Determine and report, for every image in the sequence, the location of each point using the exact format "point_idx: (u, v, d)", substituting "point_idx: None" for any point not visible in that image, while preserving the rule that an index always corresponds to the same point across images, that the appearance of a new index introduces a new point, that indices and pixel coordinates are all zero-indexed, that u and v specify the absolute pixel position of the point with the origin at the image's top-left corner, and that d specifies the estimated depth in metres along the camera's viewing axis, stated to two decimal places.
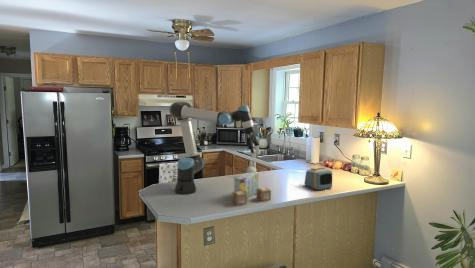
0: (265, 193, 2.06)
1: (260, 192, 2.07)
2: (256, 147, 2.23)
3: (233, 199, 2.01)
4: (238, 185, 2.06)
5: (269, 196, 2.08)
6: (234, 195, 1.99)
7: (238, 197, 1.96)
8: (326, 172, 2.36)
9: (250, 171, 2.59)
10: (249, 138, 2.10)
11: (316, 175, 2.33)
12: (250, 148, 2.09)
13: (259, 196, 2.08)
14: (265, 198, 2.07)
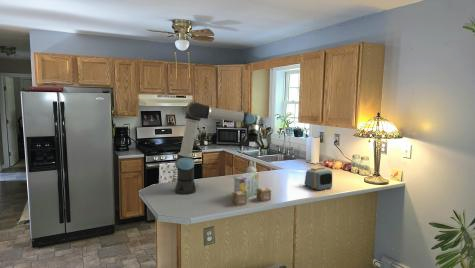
0: (265, 193, 2.06)
1: (260, 192, 2.07)
2: (242, 148, 2.30)
3: (233, 199, 2.01)
4: (238, 185, 2.06)
5: (269, 196, 2.08)
6: (234, 195, 1.99)
7: (238, 197, 1.96)
8: (326, 172, 2.36)
9: (250, 171, 2.59)
10: (261, 140, 2.33)
11: (316, 175, 2.33)
12: (262, 147, 2.28)
13: (259, 196, 2.08)
14: (265, 198, 2.07)
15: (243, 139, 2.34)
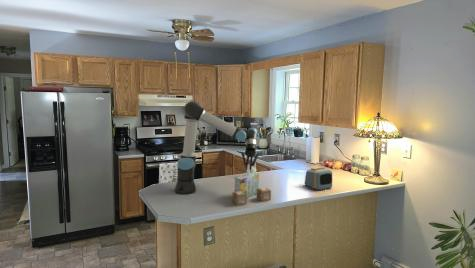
0: (265, 193, 2.06)
1: (260, 192, 2.07)
2: None
3: (233, 199, 2.01)
4: (238, 185, 2.05)
5: (269, 196, 2.08)
6: (234, 195, 1.99)
7: (238, 197, 1.96)
8: (326, 172, 2.36)
9: (250, 171, 2.59)
10: (256, 157, 2.22)
11: (316, 175, 2.33)
12: (252, 164, 2.17)
13: (259, 196, 2.08)
14: (265, 198, 2.07)
15: None
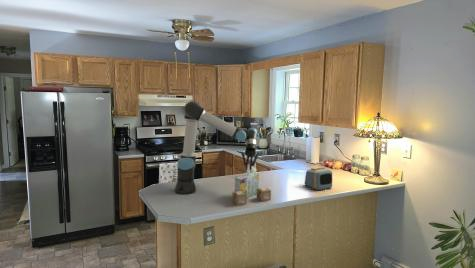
0: (265, 193, 2.06)
1: (260, 192, 2.07)
2: None
3: (233, 199, 2.01)
4: (239, 185, 2.05)
5: (269, 196, 2.08)
6: (234, 195, 1.99)
7: (238, 197, 1.96)
8: (326, 172, 2.36)
9: (250, 171, 2.59)
10: (256, 157, 2.22)
11: (316, 175, 2.33)
12: (252, 164, 2.17)
13: (259, 196, 2.08)
14: (265, 198, 2.07)
15: None
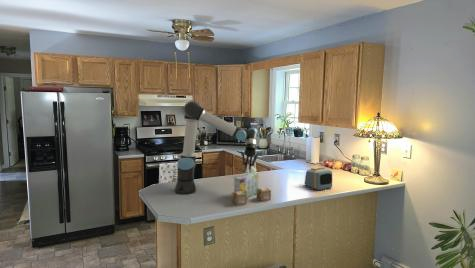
0: (265, 193, 2.06)
1: (260, 192, 2.07)
2: None
3: (233, 199, 2.01)
4: (238, 185, 2.06)
5: (269, 196, 2.08)
6: (234, 195, 1.99)
7: (238, 197, 1.96)
8: (326, 172, 2.36)
9: (250, 171, 2.59)
10: (256, 157, 2.22)
11: (316, 175, 2.33)
12: (251, 164, 2.17)
13: (259, 196, 2.08)
14: (265, 198, 2.07)
15: (243, 156, 2.22)
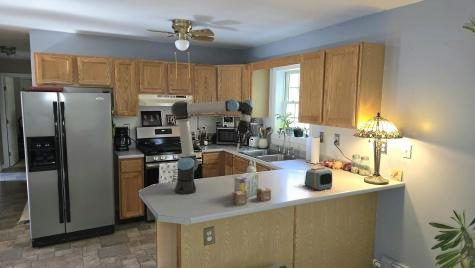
0: (265, 193, 2.06)
1: (260, 192, 2.07)
2: None
3: (233, 199, 2.01)
4: (238, 185, 2.06)
5: (269, 196, 2.08)
6: (234, 195, 1.99)
7: (238, 197, 1.96)
8: (326, 172, 2.36)
9: (250, 171, 2.59)
10: (248, 135, 2.24)
11: (316, 175, 2.33)
12: (242, 143, 2.23)
13: (259, 196, 2.08)
14: (265, 198, 2.07)
15: (235, 133, 2.23)
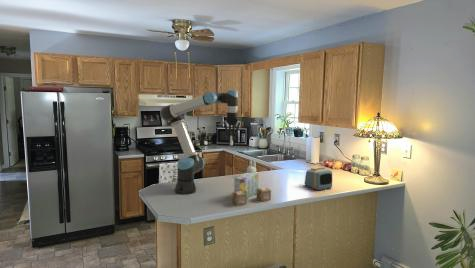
0: (265, 193, 2.06)
1: (260, 192, 2.07)
2: None
3: (233, 199, 2.01)
4: (238, 185, 2.06)
5: (269, 196, 2.08)
6: (234, 195, 1.99)
7: (238, 197, 1.96)
8: (326, 172, 2.36)
9: (250, 171, 2.59)
10: None
11: (316, 175, 2.33)
12: (234, 135, 2.19)
13: (259, 196, 2.08)
14: (265, 198, 2.07)
15: (226, 126, 2.19)
